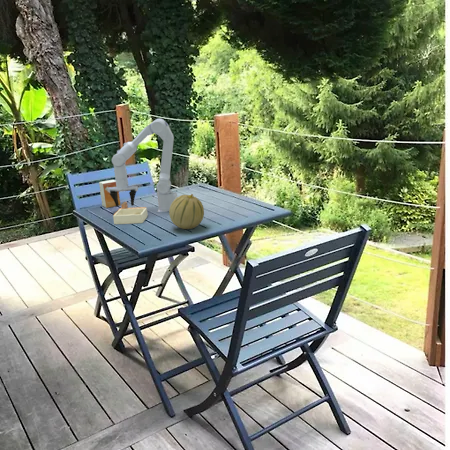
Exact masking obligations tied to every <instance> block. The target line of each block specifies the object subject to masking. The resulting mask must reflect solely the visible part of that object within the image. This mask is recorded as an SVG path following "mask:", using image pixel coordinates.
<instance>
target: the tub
mask: <svg viewBox="0 0 450 450" xmlns="http://www.w3.org/2000/svg"><path fill="white" fill-rule="evenodd" d="M119 209H120V208H119ZM119 209H118V210H119ZM118 210H117V211H118ZM117 211H116V212H117ZM116 212H115V213H116ZM115 213H114V214H115ZM137 213H139V214H137ZM114 214H113V215H114ZM134 214H136V215H134ZM148 216H149V215H148V207H146V208H136V209H120V210H119V211H118V212H117V213H116V214H115V215H114V216H112V218H113V224H114V225H125V224H127V225H130V224H132V225H133V224H143V223H144V221H146V219H147V218H148Z"/></svg>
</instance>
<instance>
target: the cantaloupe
mask: <svg viewBox="0 0 450 450" xmlns="http://www.w3.org/2000/svg"><path fill="white" fill-rule="evenodd" d="M204 209H205V208H204V205H203V203H202V201H201V200H200V199H199V198H198V197H197V196H194V194H193V193H192V194H182V195H180V196H177V198H176V199H175V200H174V201H173V202H172V204H171V206H170V209H169V211H168V212H169V213H168V215H169V217H170V220H171V223H173V225H175V226H176V227H177V228H180V229H182V230H191V229H194V228H196V227H198V226H199V225H200V224H201V223H202V221H203V219H204V217H205V216H204V215H205V210H204Z"/></svg>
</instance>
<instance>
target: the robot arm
mask: <svg viewBox="0 0 450 450" xmlns="http://www.w3.org/2000/svg"><path fill="white" fill-rule="evenodd" d="M154 134H155V135H157V136H158V137H160V138H161V140H162V141H163V144H162V145H163V146H162V153H161V164H160V170H159V171H160V173H159V178H158V182H157V183H156V186H155V188H156V191H157V192H156V193H157V202H158V203H157V204H158V210H157V211H156V213H157V212H158V213H159V212H160V213H161V212H162V213H163V212H169V209H170V206H171V204H172V202H173V201H174V200H175V199H176V198H177V197H178V193H177V192H175V191H172V189H171V187H172V181H171V167H172V159H173V158H172V157H173V149H174V140H175V139H174V138H175V137H174V136H175V135H174V134H173V132H172V130H171V127H170V125H169V124H168V123H167V121H165V120H164V118H156V119H155V120H153V121H152V122H151V123H150V124H147V125H146V126H145V127H144V128H143V129H142V130H141V131H140V132H139V133H138V134H137V135H136V136H135V138H133V140H132V141H127V142H124V143H123V146H122V147H121V148H120V149H118V150H117V151H116V154H113V156H112V157H111V163H112V165H113V170H114V171H113V172H114V178H115V179H114V180H116V187H109V188H108V192H110V195H111V197H112V198H113V200H114V202H115V204H116V206H115V207H119V206H120V205H119V203H118V195H117V191H119V192H129V193H128V194H129V199H130V205H131V206H132V207H133V206H134V204H135V196H136V193H137V192H138V191H139V186H138V185H129V179H128V172H127V168H126V167H127V165H126V162H127V160H129V159H130V158H131V157H132V156H133V154H135V153H136V152H137V147H138V146H139V145H140V144H141V143H142V142H143V141H144V140H145V139H146V138H147V137H148V136H151V135H154ZM118 205H119V206H118Z"/></svg>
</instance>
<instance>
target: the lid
mask: <svg viewBox="0 0 450 450" xmlns="http://www.w3.org/2000/svg"><path fill="white" fill-rule="evenodd" d="M120 206H121V207H120V208H118V210H117V211H115V212H114V214H113V216H114V215H115V214H116V213H117V212H118V211H119V210H120V209H136V208H147V206H140V207H139V206H137V207H128V206H129V205H128V202H127V201H123V202H122V203H120ZM113 216H112V217H113Z"/></svg>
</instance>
